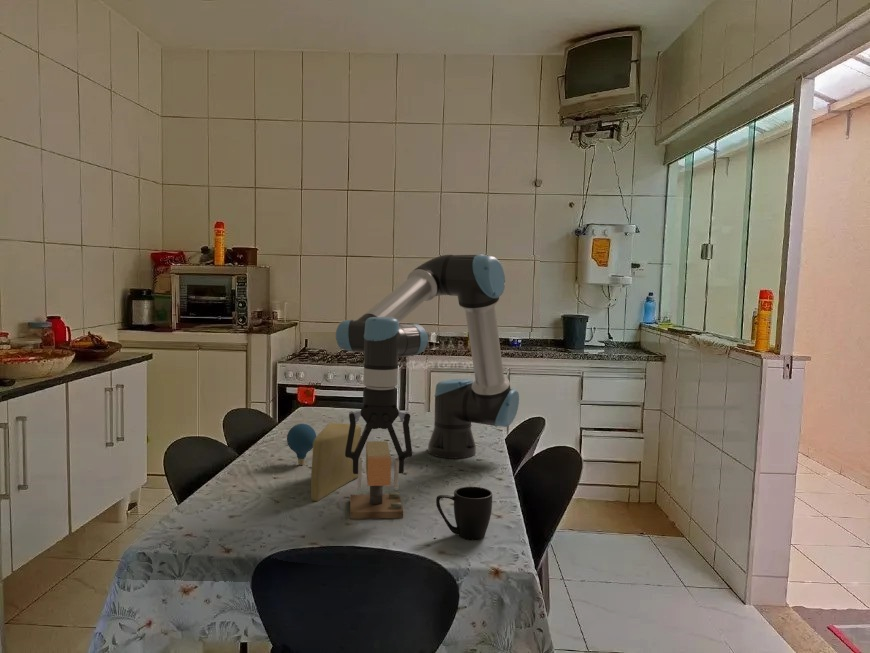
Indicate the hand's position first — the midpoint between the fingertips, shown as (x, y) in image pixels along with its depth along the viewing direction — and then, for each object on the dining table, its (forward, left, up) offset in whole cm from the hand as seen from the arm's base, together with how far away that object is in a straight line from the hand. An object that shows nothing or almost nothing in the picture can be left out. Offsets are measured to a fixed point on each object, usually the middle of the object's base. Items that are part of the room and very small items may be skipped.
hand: (377, 487), depth 147 cm
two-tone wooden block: (0, -3, -1) cm, 3 cm away
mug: (-18, +9, -8) cm, 22 cm away
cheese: (+11, -24, -8) cm, 27 cm away
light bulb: (+20, -45, -8) cm, 49 cm away
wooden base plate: (0, -8, -8) cm, 11 cm away
